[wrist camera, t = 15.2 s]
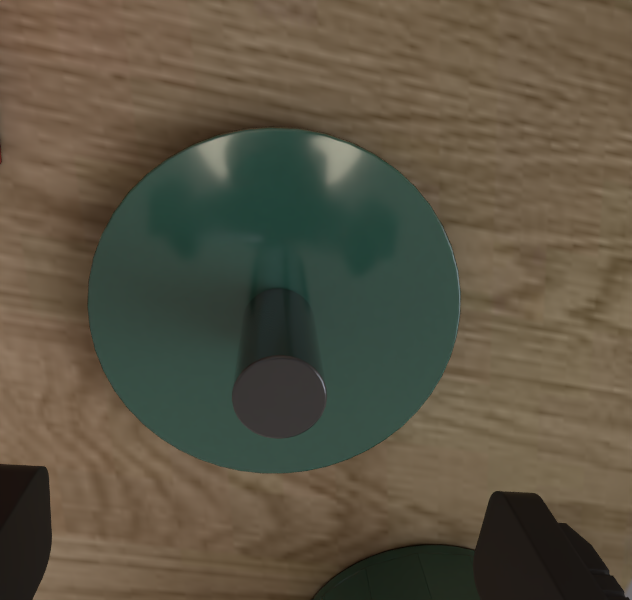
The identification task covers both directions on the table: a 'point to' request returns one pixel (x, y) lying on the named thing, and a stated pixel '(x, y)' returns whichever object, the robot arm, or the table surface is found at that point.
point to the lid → (274, 300)
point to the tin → (407, 576)
